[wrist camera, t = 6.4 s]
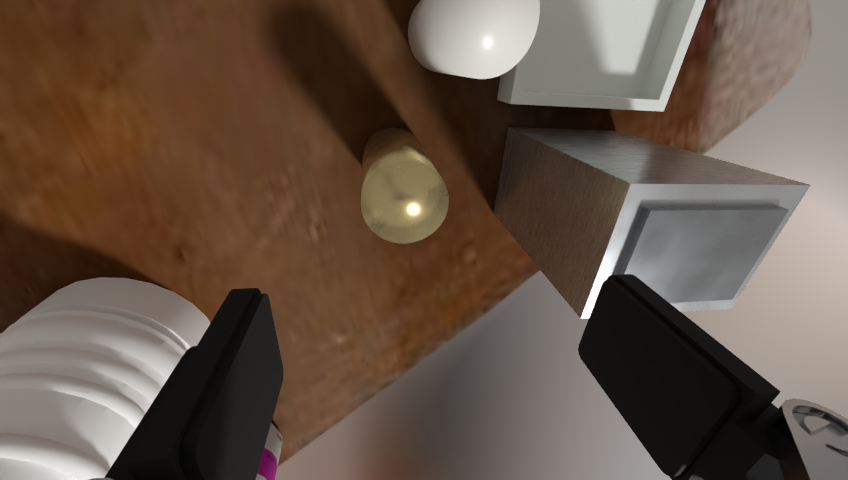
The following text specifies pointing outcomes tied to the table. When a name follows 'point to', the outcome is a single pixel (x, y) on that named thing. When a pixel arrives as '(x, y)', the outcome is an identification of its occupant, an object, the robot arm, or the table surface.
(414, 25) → the cylinder
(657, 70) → the tray
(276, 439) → the supplement can
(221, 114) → the table surface
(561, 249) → the grey box
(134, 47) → the table surface
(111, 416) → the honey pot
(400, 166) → the cylinder
